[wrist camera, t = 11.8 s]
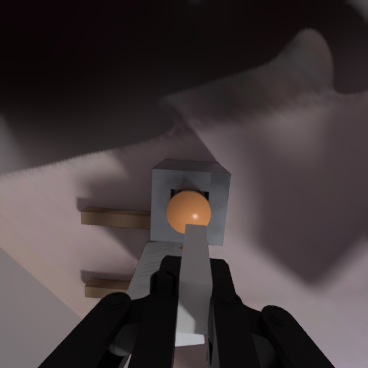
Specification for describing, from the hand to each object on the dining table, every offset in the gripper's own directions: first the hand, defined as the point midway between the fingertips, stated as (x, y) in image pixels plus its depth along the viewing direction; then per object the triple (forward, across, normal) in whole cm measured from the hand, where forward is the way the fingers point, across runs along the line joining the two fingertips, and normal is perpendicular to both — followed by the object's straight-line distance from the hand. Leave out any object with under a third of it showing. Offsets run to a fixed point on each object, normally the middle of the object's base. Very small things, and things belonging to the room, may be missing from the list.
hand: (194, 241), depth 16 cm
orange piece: (+12, +1, 0) cm, 12 cm away
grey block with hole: (+16, +1, 0) cm, 16 cm away
